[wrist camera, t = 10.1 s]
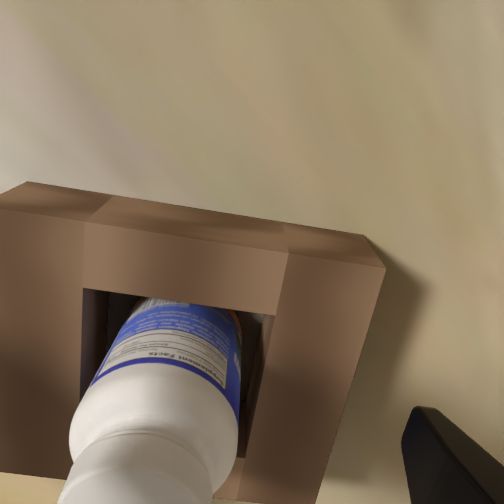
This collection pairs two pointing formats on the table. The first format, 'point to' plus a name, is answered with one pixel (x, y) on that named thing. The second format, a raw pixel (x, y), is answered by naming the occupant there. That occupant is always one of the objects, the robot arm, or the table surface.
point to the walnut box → (189, 291)
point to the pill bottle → (160, 409)
